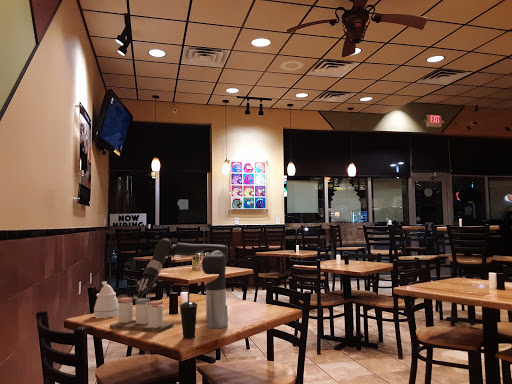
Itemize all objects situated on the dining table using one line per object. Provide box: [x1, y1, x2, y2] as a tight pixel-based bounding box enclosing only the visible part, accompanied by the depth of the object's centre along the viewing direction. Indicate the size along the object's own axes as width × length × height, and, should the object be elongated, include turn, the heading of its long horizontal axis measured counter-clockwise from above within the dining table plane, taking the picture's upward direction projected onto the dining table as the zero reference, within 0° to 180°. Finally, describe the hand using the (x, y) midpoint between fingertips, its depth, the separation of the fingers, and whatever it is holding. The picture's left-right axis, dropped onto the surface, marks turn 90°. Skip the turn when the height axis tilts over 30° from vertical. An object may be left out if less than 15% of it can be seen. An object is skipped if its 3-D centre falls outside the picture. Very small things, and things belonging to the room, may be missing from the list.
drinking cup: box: [179, 289, 198, 340], centre depth 175 cm, size 8×8×20 cm
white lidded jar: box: [135, 297, 151, 324], centre depth 195 cm, size 5×4×11 cm
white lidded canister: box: [147, 300, 164, 328], centre depth 188 cm, size 5×4×11 cm
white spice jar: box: [117, 297, 134, 323], centre depth 199 cm, size 5×4×11 cm
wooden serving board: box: [109, 319, 174, 333], centre depth 194 cm, size 28×11×2 cm, turn 68°
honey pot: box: [93, 281, 119, 319], centre depth 222 cm, size 13×13×18 cm
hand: (138, 298), depth 209 cm, fingers closed
